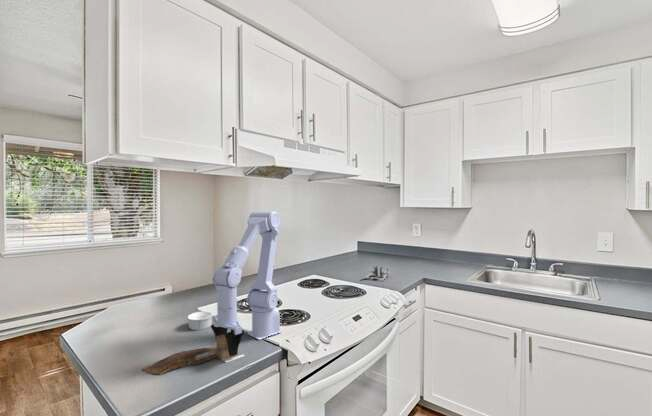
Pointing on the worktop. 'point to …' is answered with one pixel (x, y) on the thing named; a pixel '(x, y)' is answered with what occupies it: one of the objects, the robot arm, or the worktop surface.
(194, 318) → the ramekin
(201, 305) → the worktop surface
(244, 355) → the strip
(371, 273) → the bike brake
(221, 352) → the mallet
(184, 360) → the wooden fragment
